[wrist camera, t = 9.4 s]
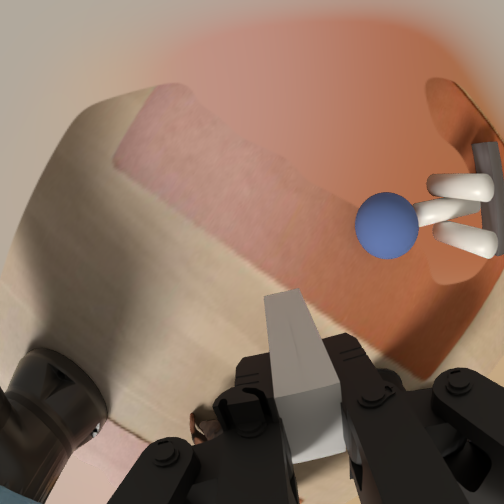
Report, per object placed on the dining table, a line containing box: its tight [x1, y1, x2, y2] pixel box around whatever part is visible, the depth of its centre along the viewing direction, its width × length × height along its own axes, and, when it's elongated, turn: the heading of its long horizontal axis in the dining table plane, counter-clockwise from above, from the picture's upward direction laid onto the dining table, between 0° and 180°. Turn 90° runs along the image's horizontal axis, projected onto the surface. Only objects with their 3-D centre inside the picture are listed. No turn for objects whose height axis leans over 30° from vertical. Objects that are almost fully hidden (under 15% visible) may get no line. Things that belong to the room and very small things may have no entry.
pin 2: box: [433, 221, 498, 259], centre depth 24 cm, size 2×2×8 cm
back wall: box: [471, 142, 504, 256], centre depth 26 cm, size 2×13×3 cm, turn 13°
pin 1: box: [427, 174, 494, 202], centre depth 23 cm, size 2×2×8 cm
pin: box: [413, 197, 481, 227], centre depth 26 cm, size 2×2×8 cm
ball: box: [355, 192, 419, 259], centre depth 25 cm, size 6×6×6 cm
